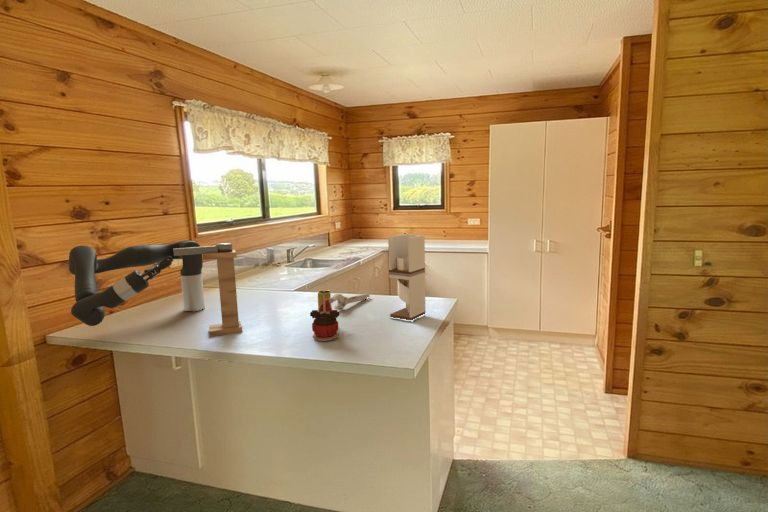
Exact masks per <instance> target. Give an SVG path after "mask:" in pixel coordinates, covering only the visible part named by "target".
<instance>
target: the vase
mask: <svg viewBox="0 0 768 512" xmlns="http://www.w3.org/2000/svg"><path fill="white" fill-rule="evenodd" d="M323 291H325V300H327V299H330V298H332V297H331V290H327V289H325V290H324V289H323V290H319V291H317V310H318V311H319V308H320V305H321V304H322V303H323ZM330 306H331V308H332V303H330ZM332 309H333V308H332Z"/></svg>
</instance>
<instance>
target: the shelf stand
mask: <svg viewBox="0 0 768 512" xmlns="http://www.w3.org/2000/svg"><path fill="white" fill-rule="evenodd" d="M235 258H237V251H236V249H233V251H232V252H224V253H206V254H202V261H208V260H216V265H217V277H218V289H219V291H218V292H219V301H220V303H219V304H220V311H221V313H220V314H221V323H217V324H216V323H214V324H209V325H208V328H209V329H208V331H209V337H216V336H217V337H218V336H223V335H225V336H226V335H230V334H236V333H237V334H238V333H243V326H242V323H241V321H239V308H238V295H237V284H236V270H235V261H234V260H235Z"/></svg>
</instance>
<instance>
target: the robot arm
mask: <svg viewBox="0 0 768 512" xmlns="http://www.w3.org/2000/svg"><path fill="white" fill-rule="evenodd" d="M188 247H201V245H200V244H199V242H197V241H194V240H189V239H187V240H181V241H176V242H172V243H165V244H140V245H131V246H128V247H125V248H123V249H121V250H119V251H118V252H116V253H114V254H113V255H111V256H108V257H105V258H100V259H98V254H97V251H96V250H95V249H94V247H92V246H88V245H78V246H74V247H73V248H71V249H70V251H69V254H68V271H69V272H70V274H71V275H74V300H75V303H74V304H73V305H72V306H71V308H70V313H71V315H72V316H73V317H74V318H75V319H77V320H79V321H80V322H82V323H83V324H84V325H86V326H88V327H95V326H98V325H99V324H101V323H102V322H103V320H104V318H105V315H106V311H105V307H106V308H108V309H114V308H117V307H118V306H120V305H121V304H123V303H124V302H126V301H127V300H129V299H132V298H133V297H135V296H136V295H138V294H139V293H141V292H143V291H144V290H145V289H147V288H148V287H149V286H150V283H149V280H153V279H154V278H155V277H157V276H158V275H159V274H160V273H161V272H163V270H165V269H166V268H168V267H170V266H171V265H172V262H173V261H174V260H181V261H182V267H181V268H180V270H179V272H180V273H179V274H180V282H181V283H180V284H181V292H182V301H183V303H182V304H183V311H184V312H186V311H193V312H198V311H202V309H203V310H205V309H206V307H205V306H206V305H205V294H204V285H203V283H204V282H203V272H202V270H203V266H204V265H203V264H204V263H203V254H194V255H181V256H174V252H173V249H175V248H188ZM145 266H149V267H147V268H145V269H144V270H143V273H141V272H140V271H139V270H137V269H136V270H133V271H131V272H130V273H128V274H127V275H125V276H123V277H122V278H121V279H119V280H117V281H116V282H115V283H114V284H113V285H110V286H109V287H107V288H106V289H104V290H103V291H101V292H98V285H97V278H96V274H102V273H106V272H112V271H116V270H121V269H130V268H138V267H145Z"/></svg>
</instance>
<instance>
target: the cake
mask: <svg viewBox="0 0 768 512" xmlns="http://www.w3.org/2000/svg"><path fill="white" fill-rule="evenodd" d="M334 302H335V301H334V298H333V297H331V298H330V299H327V300H325V291H323V303H322V304H321V305H320V308H319V311H318V309H312V311H310V313H309V315H310V317H311V318H312V319H313V322H312V323H311V328H312V331H313V335H312V338H313V339H314V340H316V341H320V342H325V341H327V340H328V341H332V340H335V339H336V338H338V337H339V333H338V330H339V321H338V320H337V319H338V318H339V316H340V311H338V310H337V309H333V308H331V306H332V305H331V306H330V303H331V304H333V303H334Z"/></svg>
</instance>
